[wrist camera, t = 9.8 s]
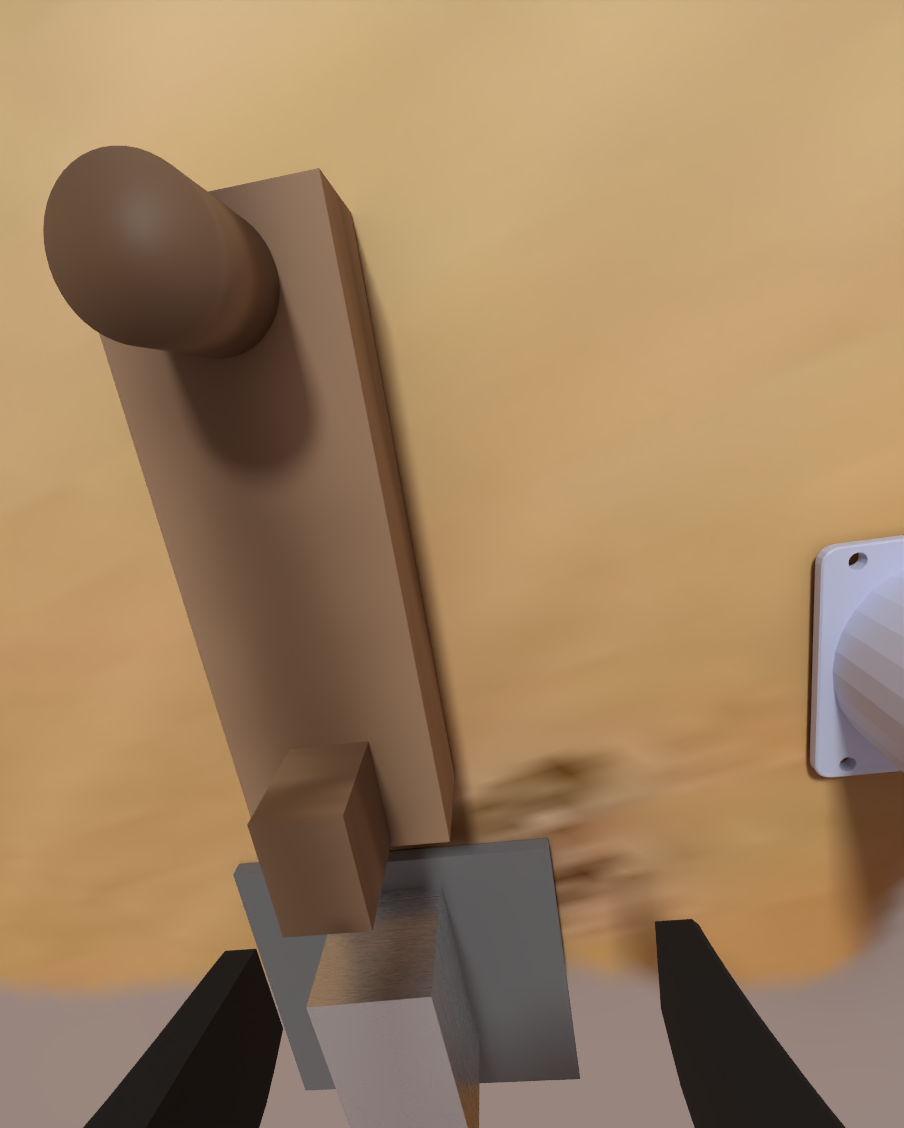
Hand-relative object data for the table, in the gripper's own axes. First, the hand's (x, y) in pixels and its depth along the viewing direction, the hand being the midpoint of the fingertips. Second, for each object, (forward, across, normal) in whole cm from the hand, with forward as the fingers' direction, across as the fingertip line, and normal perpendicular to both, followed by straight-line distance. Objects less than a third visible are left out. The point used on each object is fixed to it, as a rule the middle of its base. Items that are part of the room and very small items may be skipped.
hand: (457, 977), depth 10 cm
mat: (+9, +4, +12) cm, 16 cm away
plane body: (+9, +4, -6) cm, 12 cm away
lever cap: (+9, +4, +11) cm, 15 cm away
